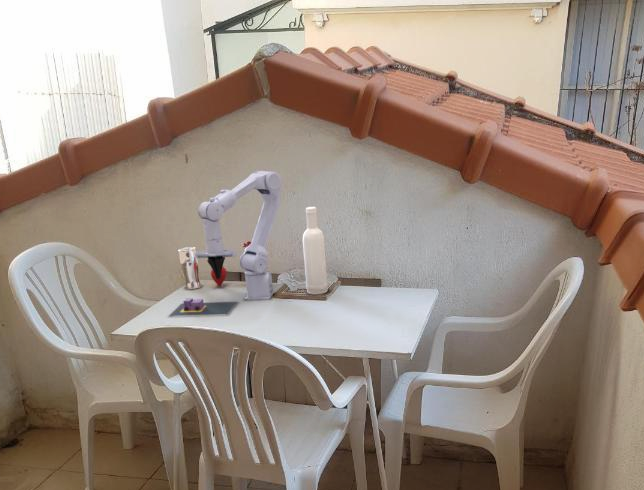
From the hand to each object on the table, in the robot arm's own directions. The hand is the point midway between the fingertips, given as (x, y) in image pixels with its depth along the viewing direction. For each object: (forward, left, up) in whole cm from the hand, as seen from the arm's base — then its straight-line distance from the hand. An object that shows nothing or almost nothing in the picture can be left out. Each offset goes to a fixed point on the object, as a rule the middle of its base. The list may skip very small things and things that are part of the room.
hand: (218, 278), depth 244 cm
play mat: (+6, +3, -10) cm, 12 cm away
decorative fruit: (+8, -27, -5) cm, 28 cm away
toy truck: (+10, +3, -10) cm, 14 cm away
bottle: (-32, -15, -11) cm, 37 cm away
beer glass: (+20, -27, -11) cm, 35 cm away
